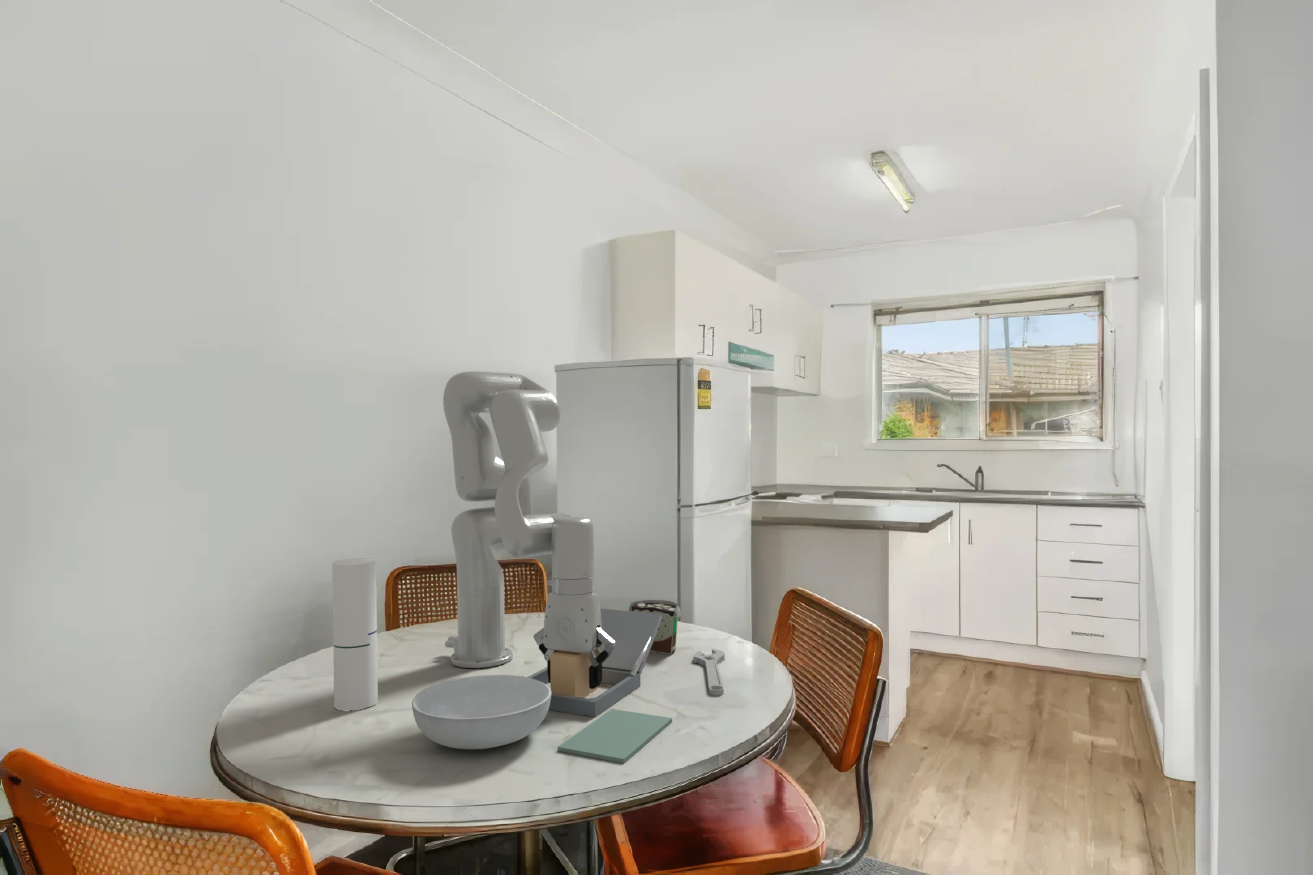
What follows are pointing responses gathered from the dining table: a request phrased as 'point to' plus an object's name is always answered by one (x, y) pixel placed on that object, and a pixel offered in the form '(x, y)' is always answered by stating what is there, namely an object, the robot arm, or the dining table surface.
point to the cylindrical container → (355, 633)
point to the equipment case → (614, 661)
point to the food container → (668, 624)
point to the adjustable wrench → (712, 669)
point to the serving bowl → (481, 710)
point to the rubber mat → (615, 735)
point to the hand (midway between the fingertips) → (574, 683)
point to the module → (570, 674)
